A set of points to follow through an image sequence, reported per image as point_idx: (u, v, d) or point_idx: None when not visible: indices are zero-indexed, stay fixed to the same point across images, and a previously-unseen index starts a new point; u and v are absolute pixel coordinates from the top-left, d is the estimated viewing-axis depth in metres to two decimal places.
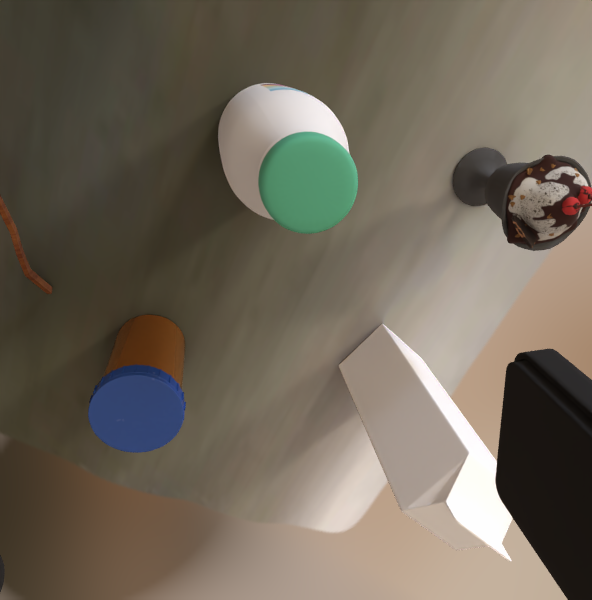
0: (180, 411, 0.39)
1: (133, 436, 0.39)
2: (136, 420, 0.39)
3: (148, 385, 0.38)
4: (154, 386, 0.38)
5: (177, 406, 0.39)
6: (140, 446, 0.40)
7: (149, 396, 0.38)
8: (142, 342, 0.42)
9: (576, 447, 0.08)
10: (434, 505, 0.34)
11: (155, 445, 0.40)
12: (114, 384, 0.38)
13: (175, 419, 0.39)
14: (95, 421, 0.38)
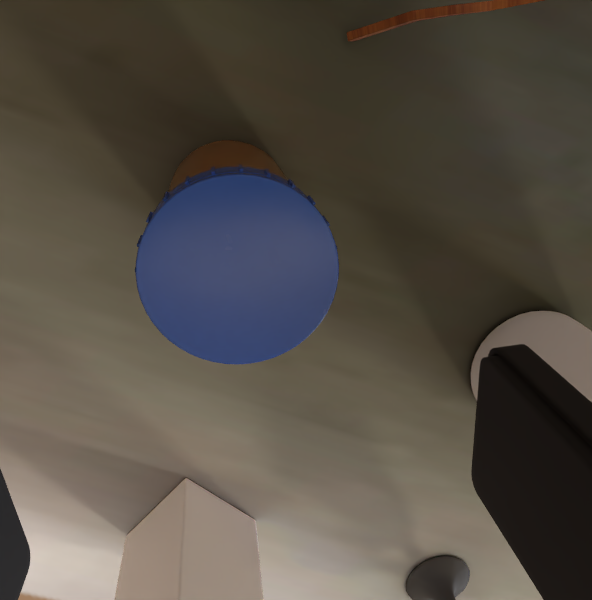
0: (244, 359, 0.19)
1: (182, 266, 0.17)
2: (226, 275, 0.18)
3: (312, 302, 0.18)
4: (308, 313, 0.19)
5: (256, 353, 0.19)
6: (154, 279, 0.17)
7: (285, 303, 0.18)
8: None
9: (542, 439, 0.08)
10: None
11: (156, 310, 0.18)
12: (321, 238, 0.18)
13: (224, 349, 0.19)
14: (228, 188, 0.17)
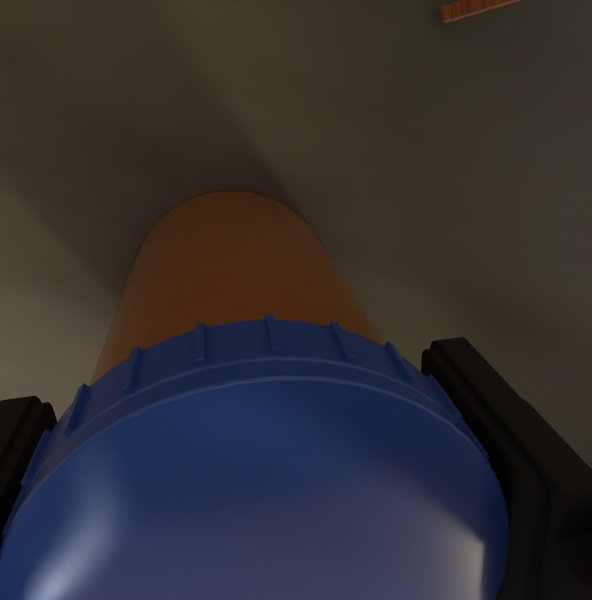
0: None
1: (121, 593, 0.07)
2: (235, 598, 0.07)
3: None
4: None
5: None
6: None
7: None
8: None
9: (468, 426, 0.08)
10: None
11: None
12: (478, 504, 0.07)
13: None
14: (243, 413, 0.06)
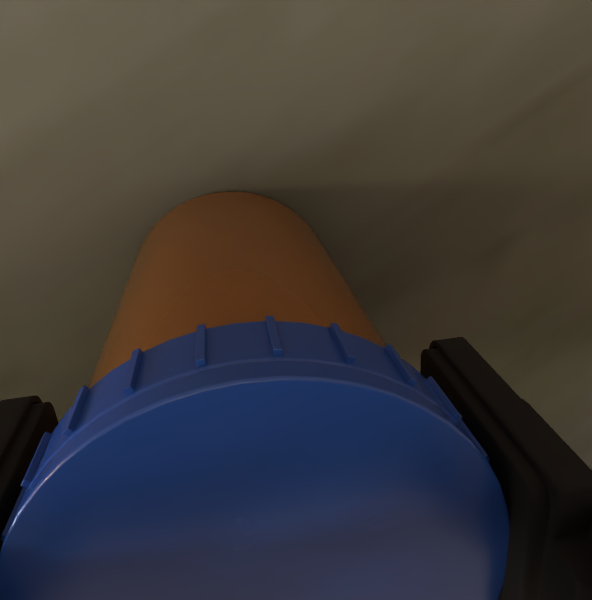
0: None
1: (121, 595, 0.07)
2: None
3: None
4: None
5: None
6: None
7: None
8: None
9: (467, 426, 0.08)
10: None
11: None
12: (478, 505, 0.07)
13: None
14: (244, 414, 0.06)
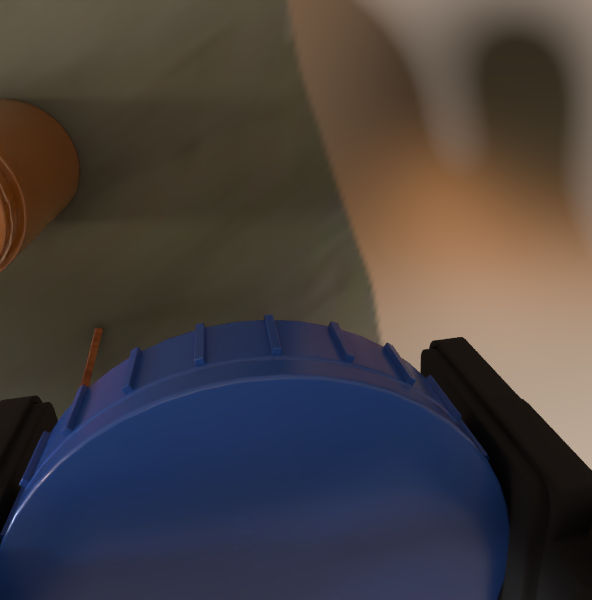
0: None
1: (120, 595, 0.07)
2: None
3: None
4: None
5: None
6: None
7: None
8: None
9: (467, 426, 0.08)
10: None
11: None
12: (478, 505, 0.07)
13: None
14: (243, 413, 0.06)
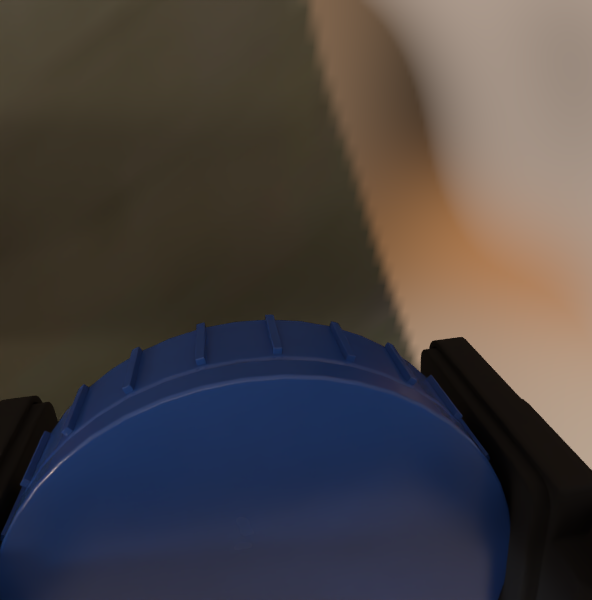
0: None
1: (121, 595, 0.07)
2: None
3: None
4: None
5: None
6: None
7: None
8: None
9: None
10: None
11: None
12: (479, 504, 0.07)
13: None
14: (244, 413, 0.06)
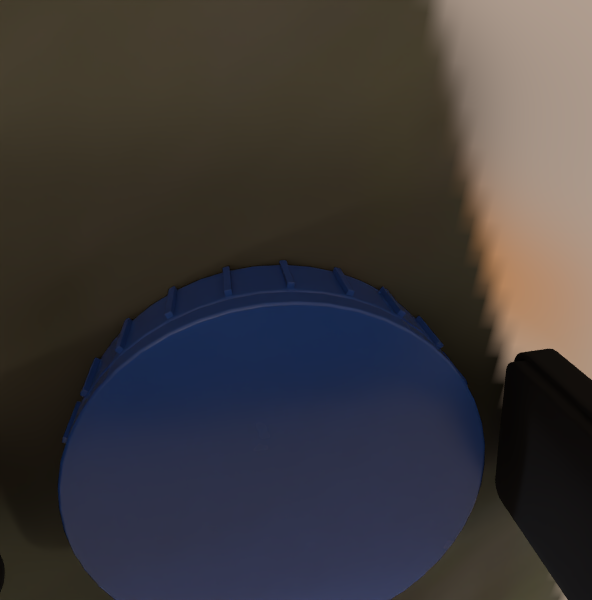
0: None
1: (161, 487, 0.08)
2: (254, 496, 0.08)
3: (424, 531, 0.09)
4: (415, 549, 0.09)
5: None
6: (99, 514, 0.08)
7: (372, 536, 0.09)
8: None
9: (576, 447, 0.08)
10: None
11: (106, 566, 0.08)
12: (457, 418, 0.08)
13: None
14: (264, 332, 0.07)
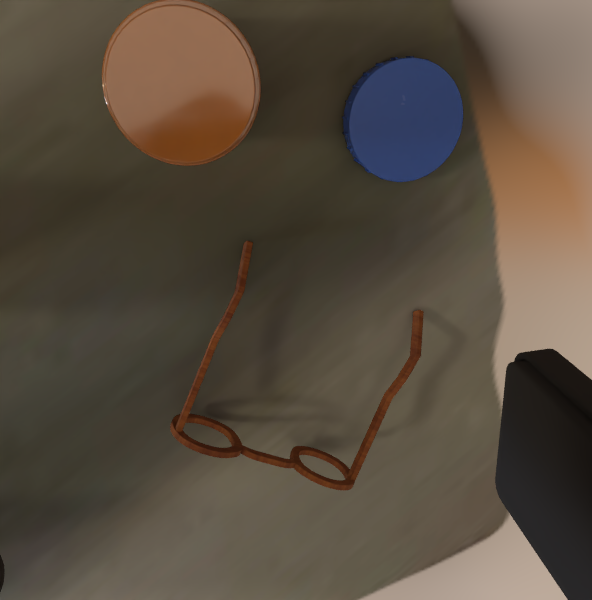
0: (402, 178, 0.31)
1: (376, 114, 0.30)
2: (399, 121, 0.30)
3: (445, 141, 0.31)
4: (442, 148, 0.31)
5: (410, 174, 0.31)
6: (359, 122, 0.30)
7: (430, 141, 0.31)
8: None
9: (576, 447, 0.08)
10: None
11: (357, 142, 0.30)
12: (455, 99, 0.30)
13: (392, 171, 0.31)
14: (407, 66, 0.29)
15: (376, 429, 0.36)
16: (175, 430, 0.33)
